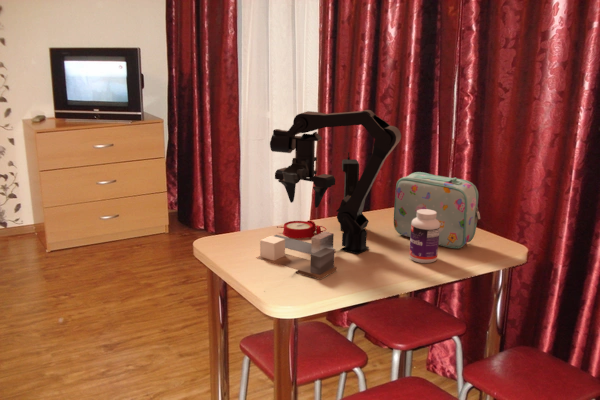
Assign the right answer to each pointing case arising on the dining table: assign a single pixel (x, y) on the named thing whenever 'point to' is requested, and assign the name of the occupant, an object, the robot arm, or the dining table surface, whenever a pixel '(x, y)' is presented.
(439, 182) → the lunch box
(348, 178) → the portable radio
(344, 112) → the robot arm
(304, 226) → the alarm clock
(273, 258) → the cream block
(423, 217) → the pill bottle
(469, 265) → the dining table surface
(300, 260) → the walnut strip
